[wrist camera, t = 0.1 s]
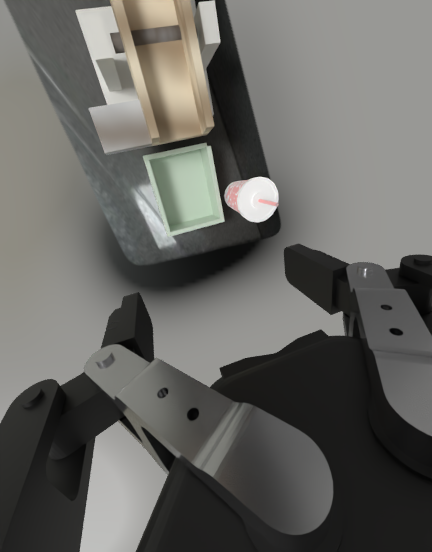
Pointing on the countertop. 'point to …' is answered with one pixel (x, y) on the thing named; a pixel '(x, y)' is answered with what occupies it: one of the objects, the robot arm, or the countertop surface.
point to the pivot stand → (115, 66)
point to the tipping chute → (156, 78)
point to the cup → (185, 188)
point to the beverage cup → (253, 198)
